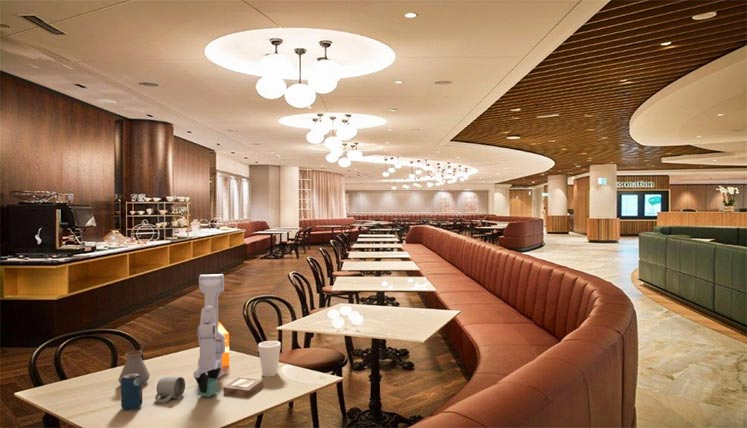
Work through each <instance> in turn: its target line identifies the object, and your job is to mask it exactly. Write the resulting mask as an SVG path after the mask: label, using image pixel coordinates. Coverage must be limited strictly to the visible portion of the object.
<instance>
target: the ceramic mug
mask: <svg viewBox="0 0 747 428" xmlns="http://www.w3.org/2000/svg"><path fill="white" fill-rule="evenodd" d="M185 389H186V382H185V378H184V377H182V376H164V377H162V378H160V379H159V380H158V382H157V386H156V393H157V394H156V395H155V396H154V397H155V398H154V399H155V401H156V403H158V404H164V403H167V402H169V401H170V400H171V399H180V398H181V397H182V396H183V395H184V393H185ZM159 397H162V398H163V399H159Z"/></svg>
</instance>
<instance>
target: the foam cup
mask: <svg viewBox="0 0 747 428" xmlns="http://www.w3.org/2000/svg"><path fill="white" fill-rule="evenodd" d="M281 346H282V345H281V342H280V341H278V340H266V341H265V340H264V341H262V342H259V343H258V345H257V347H258V349H257V350H258V354H259V361H260V367H261V374H262V376H263V377H273V376H277V375H278V371H279V370H278V369H279V361H280V360H279V359H280V354H281V353H280V351H281V348H282V347H281Z"/></svg>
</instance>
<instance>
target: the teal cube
mask: <svg viewBox="0 0 747 428" xmlns="http://www.w3.org/2000/svg"><path fill="white" fill-rule="evenodd" d="M218 384H219V383H218V378H217V379H214V378H209V379H208V383H207V392H206V393H201V391H200V388H199V385H198V384H197V387H198V389H197V390H198V396H202V397H208V398H210V397H211V396H213V395H215V394H216V393H218V391H219V390H218V388H219V387H218Z"/></svg>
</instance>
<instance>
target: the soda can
mask: <svg viewBox="0 0 747 428" xmlns="http://www.w3.org/2000/svg"><path fill="white" fill-rule="evenodd" d="M120 404H121V405H120V406H121V408H122V410H123V411H126V412H131V411H136V410H138V409H139V408H141V407H142V404H143V385H142V377H141V375H140V373H139V372H131V373H127V374H124V375H123V378H122V380H121V384H120Z"/></svg>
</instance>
